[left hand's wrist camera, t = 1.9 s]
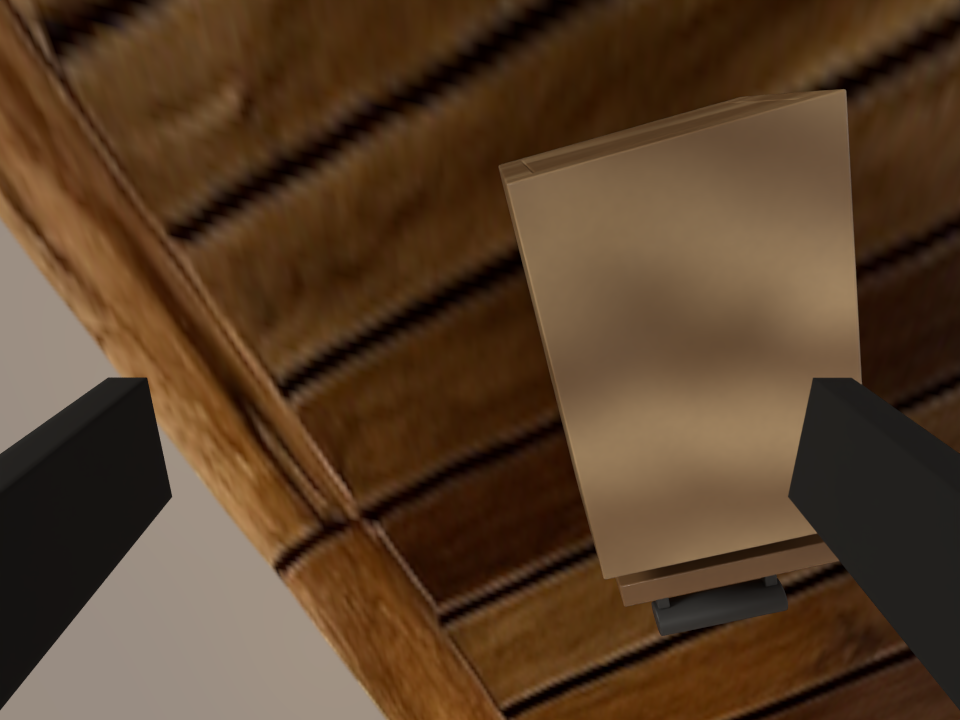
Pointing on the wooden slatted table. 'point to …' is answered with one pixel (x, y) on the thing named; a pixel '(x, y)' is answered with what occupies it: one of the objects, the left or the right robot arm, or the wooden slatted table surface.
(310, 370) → the wooden slatted table surface
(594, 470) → the cabinet
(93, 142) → the wooden slatted table surface
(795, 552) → the drawer
